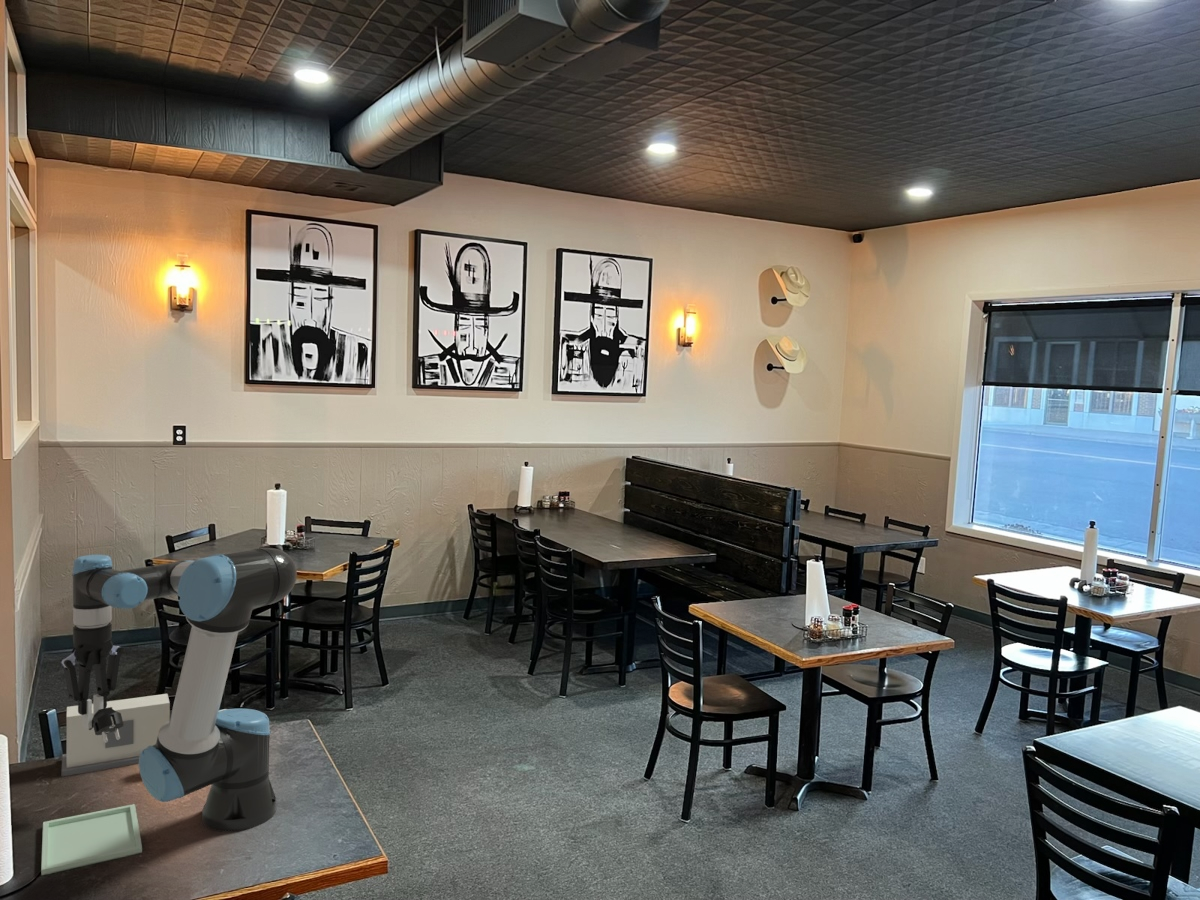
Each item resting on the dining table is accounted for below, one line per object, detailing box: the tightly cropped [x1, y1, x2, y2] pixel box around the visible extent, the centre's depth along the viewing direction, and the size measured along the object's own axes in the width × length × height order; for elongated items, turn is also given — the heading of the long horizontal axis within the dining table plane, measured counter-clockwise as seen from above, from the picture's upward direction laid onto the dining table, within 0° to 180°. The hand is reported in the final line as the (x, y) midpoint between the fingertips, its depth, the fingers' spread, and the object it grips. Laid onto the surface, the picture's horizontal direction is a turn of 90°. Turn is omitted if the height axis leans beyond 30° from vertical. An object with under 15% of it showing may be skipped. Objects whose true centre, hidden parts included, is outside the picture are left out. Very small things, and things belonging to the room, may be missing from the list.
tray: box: [40, 803, 143, 877], centre depth 175 cm, size 20×17×2 cm
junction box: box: [61, 693, 171, 777], centre depth 212 cm, size 24×10×14 cm, turn 121°
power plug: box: [89, 707, 124, 743], centre depth 191 cm, size 6×8×12 cm
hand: (92, 725), depth 194 cm, fingers closed on power plug, 2 cm apart
